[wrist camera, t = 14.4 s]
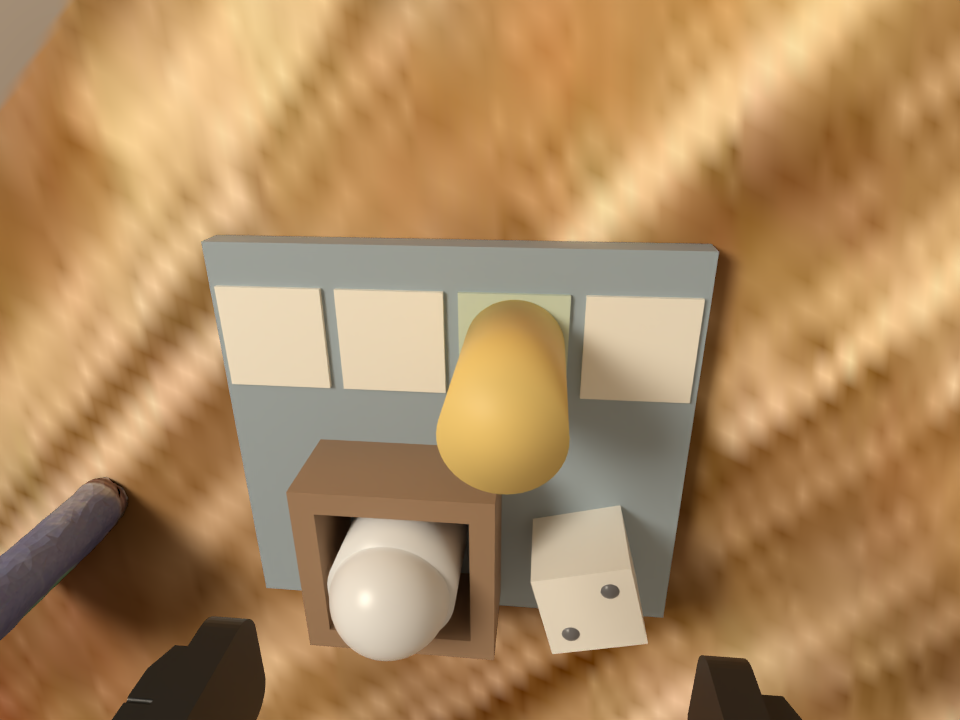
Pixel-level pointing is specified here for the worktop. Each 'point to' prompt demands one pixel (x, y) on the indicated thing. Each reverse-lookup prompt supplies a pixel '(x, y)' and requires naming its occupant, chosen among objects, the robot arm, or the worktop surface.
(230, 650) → the robot arm
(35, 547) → the navy rounded piece
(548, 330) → the yellow rounded oblong piece
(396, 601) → the white rounded egg-shaped piece
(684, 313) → the board
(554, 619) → the die
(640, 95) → the worktop surface
